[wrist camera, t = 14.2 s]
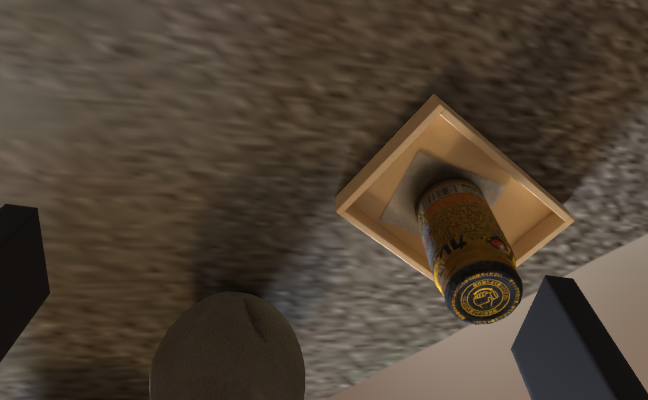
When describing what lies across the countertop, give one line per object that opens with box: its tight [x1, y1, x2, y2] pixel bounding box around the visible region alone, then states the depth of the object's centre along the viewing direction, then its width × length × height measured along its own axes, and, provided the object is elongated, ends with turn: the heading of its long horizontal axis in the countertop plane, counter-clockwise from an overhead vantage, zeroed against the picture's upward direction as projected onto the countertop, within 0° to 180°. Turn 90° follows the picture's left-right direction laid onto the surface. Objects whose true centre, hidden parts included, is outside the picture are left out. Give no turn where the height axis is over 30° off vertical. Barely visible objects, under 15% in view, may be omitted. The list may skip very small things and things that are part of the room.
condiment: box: [380, 152, 523, 324], centre depth 39 cm, size 7×8×12 cm
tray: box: [335, 94, 575, 281], centre depth 44 cm, size 16×12×2 cm
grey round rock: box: [149, 291, 305, 400], centre depth 46 cm, size 14×14×15 cm
